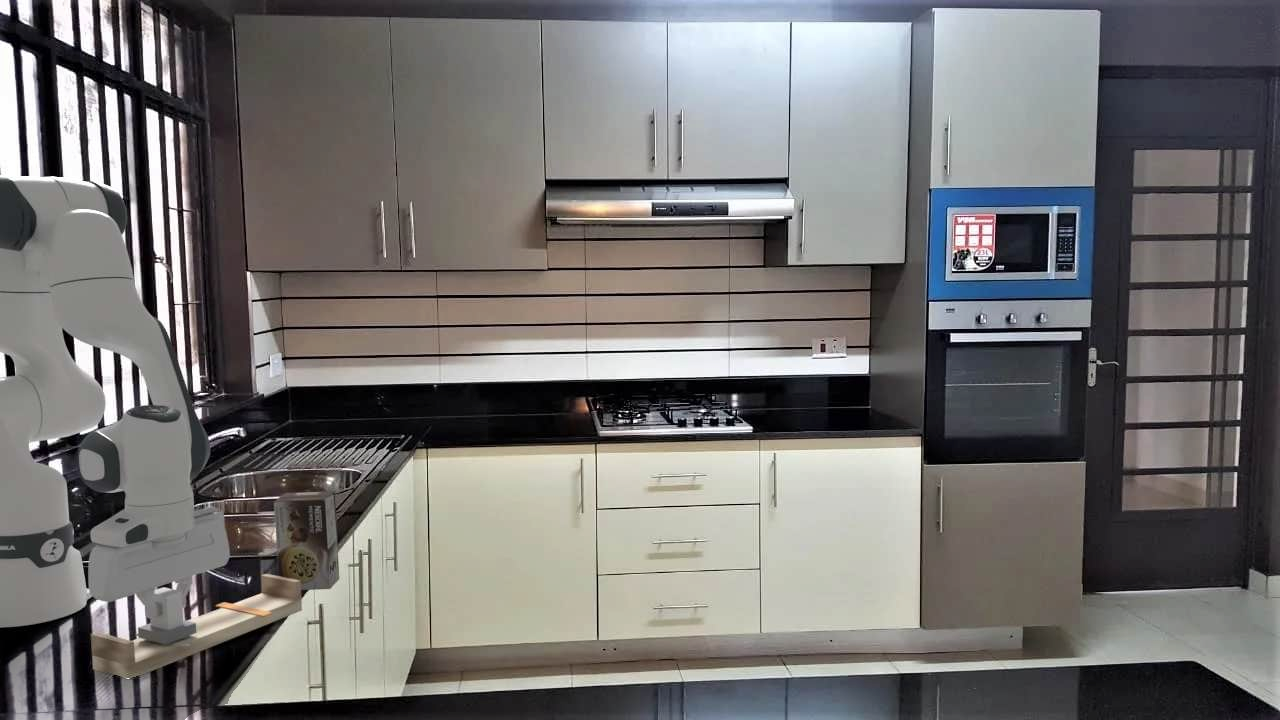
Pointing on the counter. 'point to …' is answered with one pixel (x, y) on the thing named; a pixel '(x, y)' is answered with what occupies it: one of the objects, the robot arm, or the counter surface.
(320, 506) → the coffee box
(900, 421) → the counter surface
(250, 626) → the fader track
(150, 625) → the fader tab
